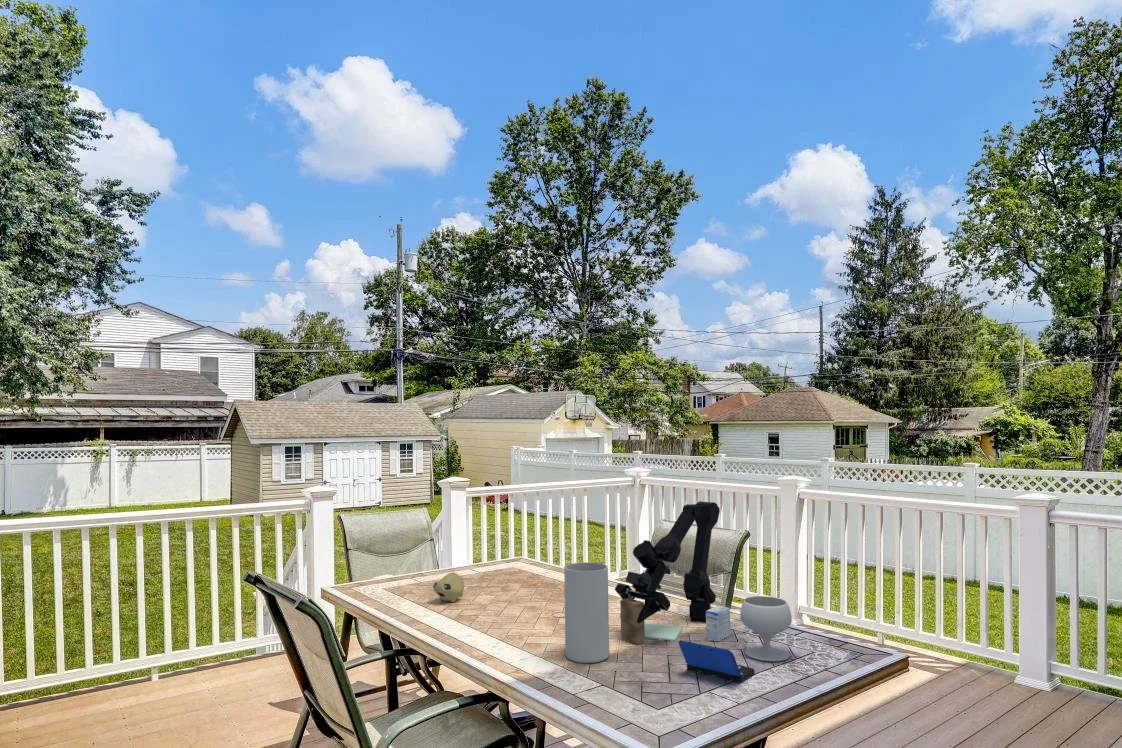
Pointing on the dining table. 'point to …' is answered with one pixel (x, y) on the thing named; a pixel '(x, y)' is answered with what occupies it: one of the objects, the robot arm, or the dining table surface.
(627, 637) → the walnut slab
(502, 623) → the dining table surface
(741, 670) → the handheld game console
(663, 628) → the mat
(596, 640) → the cylinder vase
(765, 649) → the chalice
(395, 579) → the dining table surface
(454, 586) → the olive toy creature
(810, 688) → the dining table surface
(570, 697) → the dining table surface
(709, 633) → the medicine box
